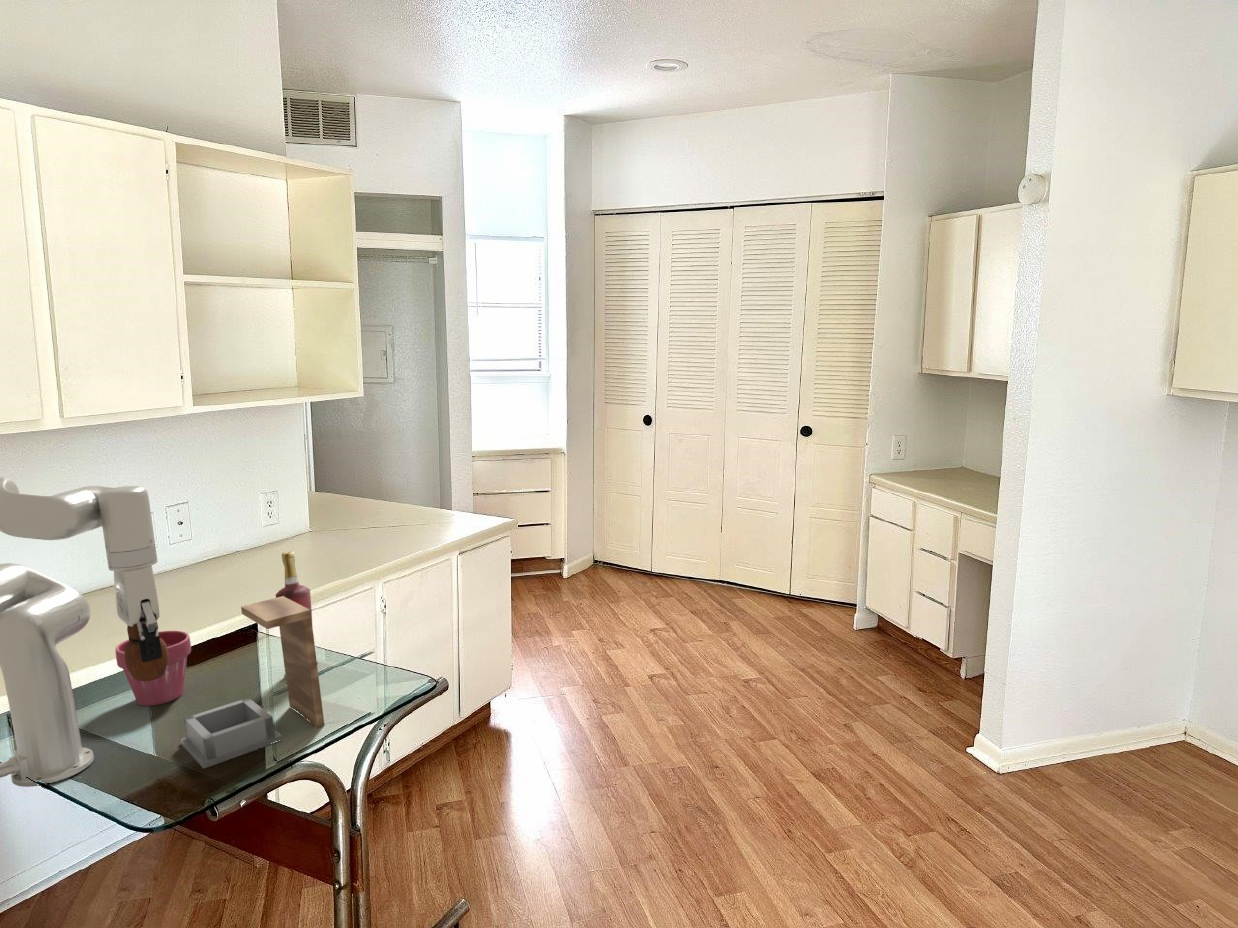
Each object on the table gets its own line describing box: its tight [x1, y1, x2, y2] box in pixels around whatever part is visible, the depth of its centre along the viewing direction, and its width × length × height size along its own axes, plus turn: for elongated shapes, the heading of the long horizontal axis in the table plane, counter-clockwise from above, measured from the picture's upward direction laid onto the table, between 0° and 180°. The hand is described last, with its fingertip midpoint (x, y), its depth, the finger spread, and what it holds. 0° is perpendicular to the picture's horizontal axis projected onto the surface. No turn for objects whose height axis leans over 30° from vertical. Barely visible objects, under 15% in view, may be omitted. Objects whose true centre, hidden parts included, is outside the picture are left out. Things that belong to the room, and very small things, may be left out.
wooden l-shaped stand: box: [240, 596, 325, 729], centre depth 167 cm, size 8×14×24 cm, turn 42°
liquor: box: [275, 551, 319, 666], centre depth 193 cm, size 7×7×28 cm
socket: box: [180, 697, 283, 769], centre depth 161 cm, size 14×14×5 cm
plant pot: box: [115, 630, 192, 707], centre depth 185 cm, size 14×14×13 cm
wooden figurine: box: [125, 618, 169, 681], centre depth 151 cm, size 7×6×15 cm
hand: (146, 653), depth 151 cm, fingers closed on wooden figurine, 7 cm apart
